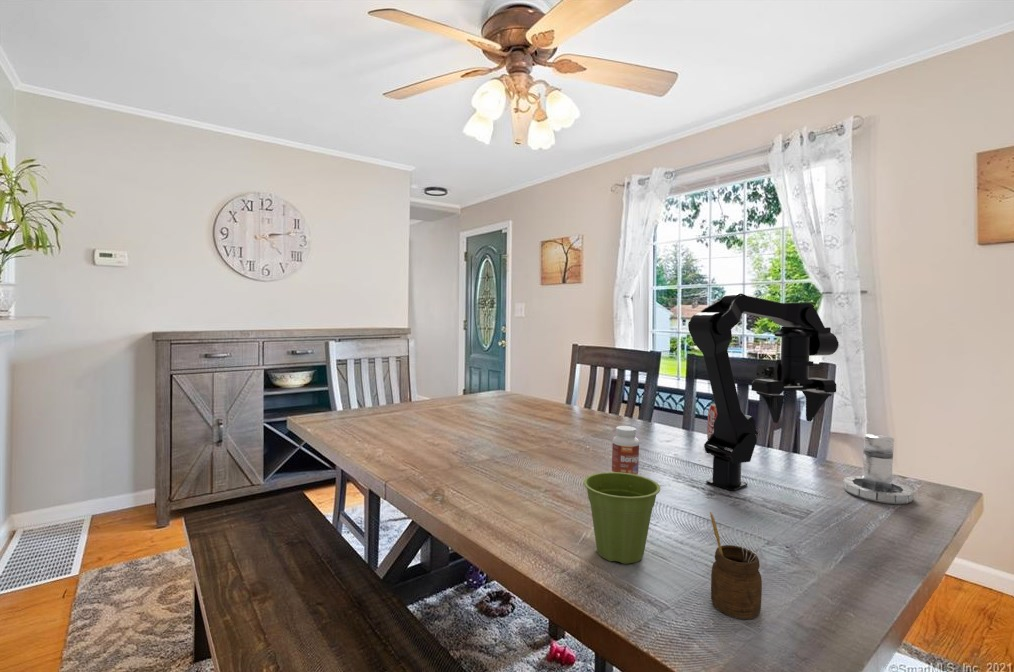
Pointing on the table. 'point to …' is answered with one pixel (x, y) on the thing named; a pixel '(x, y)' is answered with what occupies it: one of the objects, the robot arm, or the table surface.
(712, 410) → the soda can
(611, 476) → the plant pot
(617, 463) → the pill bottle
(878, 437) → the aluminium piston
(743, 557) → the utensil holder
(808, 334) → the robot arm
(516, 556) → the table surface
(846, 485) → the grey white ring
